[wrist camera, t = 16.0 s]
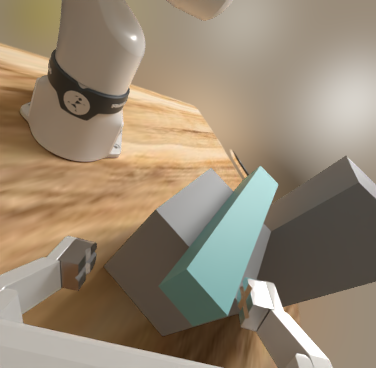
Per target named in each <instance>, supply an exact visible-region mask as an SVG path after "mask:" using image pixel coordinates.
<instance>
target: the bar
mask: <svg viewBox="0 0 376 368" xmlns="http://www.w3.org/2000/svg"><path fill="white" fill-rule="evenodd" d="M277 186H278V183H277V182H276V181H275V180H274V179H273V178H272V177H271V176H270V175H269V174H268V173H267V172H266V171H265V170H264V169H263V168H262V167H261V166H260V167H258V168H257V169H256V170H255V171H254V172H252V173H251V174H250V175H249V176H247V177H246V178H245V179H244V180H243V181H242V182H241V183H240V184H239V186H238V187H237V188H236V189H235V191H234V192H233V193H232V194H231V196H230V197H229V198H228V199H227V201H226V202H225V203H224V204H223V206H222V207H221V208H220V209H219V211H218V212H217V213H216V214H215V216H214V217H213V218H212V219H211V221H210V222H209V223H208V224H207V226H206V227H205V228H204V229H203V231H202V232H201V233H200V235H199V236H198V237H197V238H196V240H195V241H194V242H193V243H192V245H191V246H190V247H189V248H188V250H187V251H186V252H185V253H184V255H183V256H182V257H181V258H180V260H179V261H178V262H177V263H176V265H175V266H174V267H173V268H172V270H171V271H170V272H169V273H168V275H167V276H166V277H165V278H164V280H163V281H162V282H161V283H160V285H159V286H158V287H159V288H160V289H161V290H162V291H163V292H164V293H165V295H166V296H167V297H168V298H169V299H170V300H171V302H172V303H173V304H174V305H175V306H176V307H177V309H178V310H179V311H180V312H181V313H182V314H183V316H184V317H185V318H186V319H187V320H188V321H189V323H190V324H191V325H192V326H196V325H199V324H202V323H206V322H209V321H212V320H216V319H219V318H222V317H226V316H228V314H229V311H230V309H231V306H232V303H233V301H234V298H235V296H236V293H237V290H238V288H239V285H240V283H241V280H242V277H243V275H244V272H245V270H246V267H247V264H248V262H249V259H250V257H251V254H252V251H253V249H254V246H255V244H256V241H257V238H258V236H259V233H260V231H261V228H262V225H263V223H264V220H265V218H266V215H267V212H268V210H269V207H270V205H271V202H272V199H273V197H274V194H275V191H276V189H277Z"/></svg>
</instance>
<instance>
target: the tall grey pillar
mask: <svg viewBox="0 0 376 368" xmlns="http://www.w3.org/2000/svg"><path fill="white" fill-rule="evenodd" d="M232 193H233V191H232V189H231V188H230V187H229V186H228V185H227V184H226V183H225V182H224V181H223V180H222V179H221V178H220V177H219V176H218V175H217V174H216V173H215V171H214V170H213V169H212V168H210V169H209V170H207V171H206V172H205V173H203V174H202V175H201V176H199V177H198V178H197V179H196V180H194V181H193V182H192V183H190V184H189V185H188V186H186V187H185V188H184V189H182V190H181V191H180V192H178V193H177V194H176V195H174V196H173V197H172V198H170V199H169V200H168V201H166V202H165V203H164V204H162V205H161V206H160V207H158V208H157V209H156V210H155V211H154V212H153V213H152V214H151V215H150V216H149V217H148V218H147V220H146V221H145V222H144V223H143V224H142V225H141V226H140V227H139V228H138V229H137V230H136V232H135V233H134V234H133V235H132V236H131V237H130V238H129V239H128V240H127V241H126V242H125V244H124V245H123V246H122V247H121V248H120V249H119V250H118V251H117V252H116V253H115V254H114V255H113V257H112V258H111V259H110V260H109V261H108V262H107V263H106V264H105V265H104V268H105V269H106V270H107V271H108V272H109V274H110V275H111V276H112V277H113V278H114V279H115V281H116V282H117V283H118V284H119V285H120V287H121V288H122V289H123V290H124V291H125V292H126V294H127V295H128V296H129V297H130V298H131V300H132V301H133V302H134V303H135V304H136V305H137V307H138V308H139V309H140V310H141V311H142V313H143V314H144V315H145V316H146V317H147V319H148V320H149V321H150V322H151V323H152V324H153V326H154V327H155V328H156V329H157V330H158V332H159V333H160V334H161V335H162V336H165V335H169V334H172V333H175V332H179V331H182V330H185V329H189V328H192V327H195V326H192V325H191V324H190V323H189V321H188V320H187V319H186V318H185V317H184V316H183V314H182V313H181V312H180V311H179V310H178V309H177V307H176V306H175V305H174V304H173V303H172V302H171V300H170V299H169V298H168V297H167V296H166V295H165V293H164V292H163V291H162V290H161V289H160V288H159V287H158V286H159V285H160V283H161V282H162V281H163V280H164V278H165V277H166V276H167V275H168V273H169V272H170V271H171V270H172V268H173V267H174V266H175V265H176V263H177V262H178V261H179V260H180V258H181V257H182V256H183V255H184V253H185V252H186V251H187V250H188V248H189V247H190V246H191V245H192V243H193V242H194V241H195V240H196V238H197V237H198V236H199V235H200V233H201V232H202V231H203V229H204V228H205V227H206V226H207V224H208V223H209V222H210V221H211V219H212V218H213V217H214V216H215V214H216V213H217V212H218V211H219V209H220V208H221V207H222V206H223V204H224V203H225V202H226V201H227V199H228V198H229V197H230V196H231V194H232ZM245 277H248V278H253V279H257V280H262V281H266V282H271V283H273V284H274V285H275V287H276V290H277V293H278V296H279V299H280V301H281V304H282V307H285V306H289V305H292V304H296V303H299V302H303V301H307V300H310V299H314V298H317V297H321V296H325V295H328V294H332V293H336V292H339V291H343V290H346V289H350V288H354V287H357V286H361V285H365V284H368V283H372V282H375V281H376V184H374V182H372V180H370V179H369V178H368V177H367V176H366V175H365V174H364V173H363V172H362V171H361V170H360V169H359V168H358V167H357V166H356V165H355V164H354V163H353V162H352V161H351V160H350V159H349V158H348V157H347V156H345V157H343V158H342V159H340V160H339V161H337V162H336V163H334V164H333V165H331V166H329V167H328V168H327V169H325V170H323V171H322V172H320V173H319V174H317V175H316V176H314V177H313V178H311V179H310V180H308V181H307V182H305V183H303V184H302V185H300V186H299V187H297V188H296V189H294V190H293V191H291V192H290V193H288V194H287V195H285V196H284V197H282V198H281V199H279V200H278V201H276V202H275V203H273V204H271V205H270V207H269V210H268V212H267V215H266V218H265V220H264V223H263V225H262V228H261V231H260V233H259V236H258V238H257V241H256V244H255V246H254V249H253V251H252V254H251V257H250V259H249V262H248V264H247V267H246V270H245V272H244V275H243V277H242V280H241V283H240V285H239V288H240V287H241V286H243V282H242V281H243V279H244V278H245ZM239 288H238V290H239ZM238 290H237V293H238ZM237 293H236V296H235V298H234V301H233V303H232V306H231V309H230V311H229V314H228V316H226V317H229V316H232V315H235V314H239V313H240V311H241V310H240V309H239V307H238V306H237ZM222 318H225V317H222ZM222 318H219V319H222ZM219 319H216V320H219ZM212 321H215V320H212ZM212 321H209V322H212ZM209 322H206V323H209ZM202 324H205V323H202ZM202 324H199V325H202ZM199 325H196V326H199Z"/></svg>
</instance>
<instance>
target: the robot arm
mask: <svg viewBox="0 0 376 368" xmlns="http://www.w3.org/2000/svg"><path fill="white" fill-rule="evenodd" d="M166 1H168V2H169V3H170V4H172V5H173V6H174V7H176V8H178V9H180V10H182V11H184V12H186V13H188V14H190V15H192V16H194V17H196V18H198V19H200V20H203V21H206V20H209V19H212V18H214V17H216V16H218V15H219V14H220V13H222V12H223V11H224V10H225V9H226V8H227V7H228V6H229V5H230V4H231V3H232V2H233V0H166ZM144 52H145V37H144V34H143V31H142V28H141V26H140V24H139V22H138V20H137V19H136V17H135V15H134V14H133V12H132V10H131V9H130V7H129V6H128V5H127V3H126V1H125V0H62V8H61V19H60V28H59V35H58V42H57V47H56V49H55V50H54V51H53V52H52V55H51V58H50V60H49V64H48V68H49V69H48V75H45V76H42V77H41V78H37V80H36V83H35V87H34V91H33V96H32V100H31V102H29V103H26V104H24V105H22V106H21V108H20V113H21V115H22V116H23V117H24V118H25V119H26V120H27V121H28V123H29V125H30V130H31V133H32V135H33V136H34V138H35V139H36V140H37V142H38V143H39V144H40V145H42V146H43V147H44V148H45V149H47V150H48V151H50V152H52V153H54V154H56V155H58V156H60V157H63V158H66V159H69V160H74V161H82V162H89V161H96V160H99V159H102V158H106V157H110V158H116V157H119V156H120V153H121V142H122V127H123V125H124V123H123V106H124V104H125V103H126V101H127V99H128V95H129V86H130V84H131V82H132V79H133V77H134V75H135V73H136V71H137V69H138V66H139V64H140V62H141V60H142V57H143V55H144ZM96 248H97V243H95V242H92V241H88V240H84V239H80V238H75V237H71V236H67V237H65V238H64V239H63V240H62V241H61V242H60V243H59V244H58V245H57V246H56V247H55V248H54V250H53V251H52V252H51V253H50V254H49V255H48V256H47V257H46V258H45V257H42V258H40V259H37V260H35V261H32V262H30V263H28V264H25V265H23V266H20V267H18V268H16V269H13V270H11V271H9V272H6V273H4V274H1V275H0V368H222V367H218V366H213V365H209V364H204V363H200V362H195V361H191V360H186V359H182V358H177V357H173V356H168V355H164V354H159V353H154V352H150V351H145V350H141V349H136V348H132V347H127V346H123V345H118V344H114V343H109V342H105V341H100V340H96V339H91V338H86V337H82V336H77V335H73V334H68V333H64V332H59V331H55V330H50V329H46V328H41V327H37V326H32V325H28V324H24V323H23V318H22V314H24V313H25V312H27V311H28V310H30V309H31V308H33V307H34V306H36V305H37V304H39V303H40V302H42V301H43V300H45V299H46V298H48V297H49V296H51V295H52V294H54V293H55V292H57V291H58V290H60V289H61V288H66V289H72V290H77V291H79V289H80V288H81V286H82V284H83V283H84V281H85V280H86V274H88V273H90V272H91V270H92V268H93V266H94V264H95V261H96V253H95V252H94V251H95V250H96ZM242 282H243V286H241V287H240V288H239V290H238V293H237V306H238V307H239V309H240V310H241V311H240V313H239V320H240V327H241V328H245V329H249V330H253V331H257V334H258V336H259V337H260V339H261V341H262V342H263V344H264V346H265V347H266V349H267V351H268V352H269V354H270V356H271V357H272V359H273V360H274V362H275V364H276V365H277V367H278V368H333V367H332V365H331V363H330V361H329V359H328V358H327V357H326V356H325V355H324V353H323V352H322V351H321V350H320V349H319V348H318V347H317V346H316V345H315V344H314V342H313V341H312V340H311V339H310V338H309V337H308V336H307V335H306V334H305V333H304V331H303V330H302V329H301V328H300V327H299V326H298V325H297V323H296V322H295V321H294V320H293V319H292V318H291V317H290V316H289V314H288V313H286V312H284V310H283V307H282V304H281V301H280V299H279V296H278V293H277V290H276V287H275V285H274V284H273V283H271V282H266V281H262V280H257V279H253V278H248V277H245V278H244V279H243V281H242Z"/></svg>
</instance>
